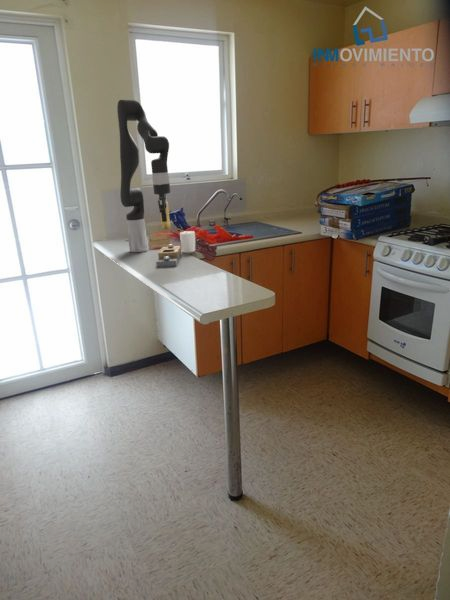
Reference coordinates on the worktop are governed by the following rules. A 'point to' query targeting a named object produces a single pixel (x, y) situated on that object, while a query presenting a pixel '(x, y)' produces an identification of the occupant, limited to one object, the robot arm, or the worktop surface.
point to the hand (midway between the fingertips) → (165, 220)
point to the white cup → (187, 241)
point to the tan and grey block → (169, 256)
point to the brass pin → (167, 224)
